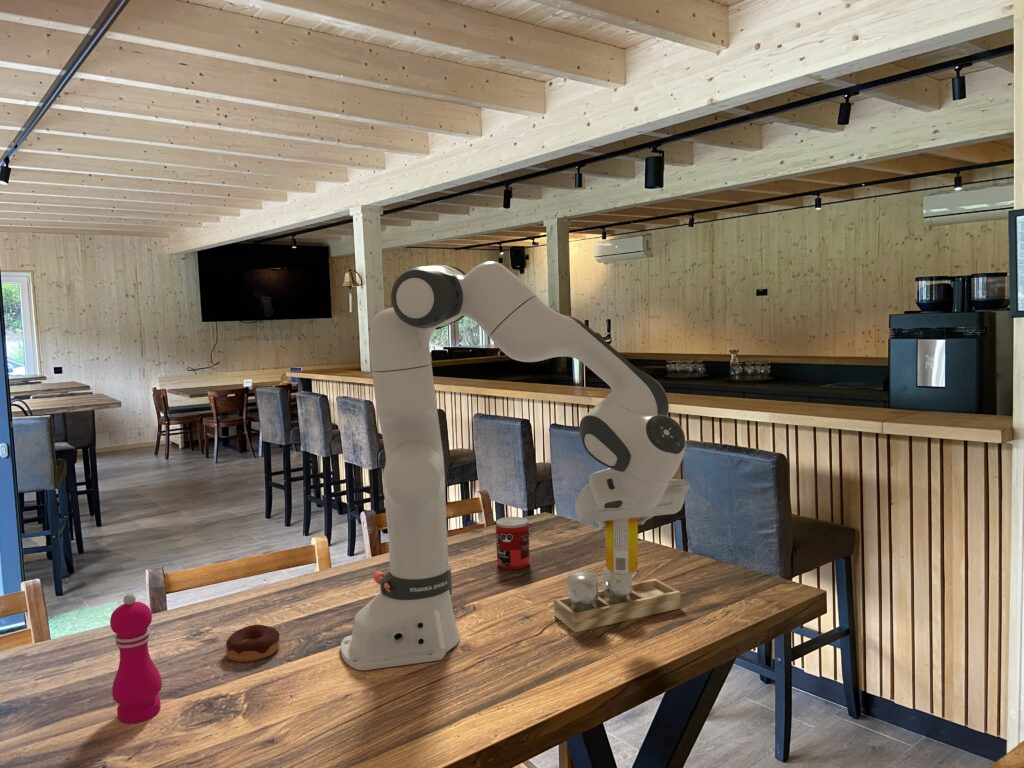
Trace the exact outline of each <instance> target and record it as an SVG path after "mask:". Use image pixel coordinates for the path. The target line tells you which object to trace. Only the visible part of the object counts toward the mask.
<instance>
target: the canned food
mask: <svg viewBox="0 0 1024 768" xmlns="http://www.w3.org/2000/svg"><path fill="white" fill-rule="evenodd" d="M529 524H530V523H529V520H528V518H525V517H520V516H507V517H500V518H499V519H497V520H496V522H495V537H496V538H495V539H496V543H495V544H496V562H497V565H498V567H500V569H501V568H502V569H505V570H519V569H523V568H527V566H529V564H530V532H529V531H530V527H529Z"/></svg>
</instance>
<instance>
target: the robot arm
mask: <svg viewBox="0 0 1024 768" xmlns="http://www.w3.org/2000/svg"><path fill="white" fill-rule="evenodd" d="M390 301H391V306H392V307H388V308H386V309H383V310H381V311H380V312H378V313H377V314H375V316H374V317H373V319H372V320H371V324H370V332H369V333H370V335H369V354H370V355H369V356H370V357H369V358H370V368H371V369H370V370H371V374H372V382H373V391H374V398H375V399H374V400H375V406H376V414H377V417H378V421H379V425H380V431H381V437H382V443H383V449H384V453H385V454H384V455H385V465H384V468H383V473H382V483H383V493H384V494H383V496H384V507H385V516H386V524H387V534H388V536H387V537H388V538H387V539H388V551H389V552H388V553H389V570H388V572H386V574H384V573H383V572H382V571H380V570H378V571H375V572H374V574H373V577H372V579H373V581H375V583H376V584H379V587H380V592H379V593H377V594H376V596H374V597H373V599H371V600H370V601H369V602H368V603H366V604H365V605H364V607H362V608H361V609H360V610H359V611H358V612H357V613H356V614H355V617H354V618H353V621H352V623H353V624H352V630H351V634H349V635H347V636H345V637H344V638H343V639H342V641H341V642H340V655H341V658H342V659H343V660H344V662H345V663H346V664H347V666H349V667H351V668H352V669H355V670H358V671H369V670H371V671H372V670H377V669H384V668H391V667H392V668H393V667H399V666H406V665H407V666H408V665H414V664H421V663H422V664H423V663H429V662H434V661H440V660H442V659H444V658H445V656H446V654H447V653H448V652H449V651H450V650H451V649H453V648H454V647H456V646H457V645H458V643H459V642H460V639H461V636H460V633H459V630H458V627H457V623H456V619H455V614H454V610H453V604H452V594H453V592H452V591H453V575H452V569H451V566H450V565H449V547H448V545H449V544H448V525H447V524H448V523H447V505H446V503H447V502H446V479H445V477H446V475H445V472H446V471H445V461H444V460H445V459H444V450H443V443H442V442H443V441H442V437H441V436H442V435H441V427H440V421H439V414H438V406H437V405H438V404H437V398H436V391H435V389H436V388H435V382H434V380H435V379H434V373H433V366H432V358H431V352H430V351H431V350H430V349H431V348H430V340H431V335H432V334H433V332H434V330H436V331H437V330H440V329H443V328H446V327H447V326H449V325H453V324H455V323H457V322H458V321H460V320H462V319H464V317H467V318H469V319H471V320H473V321H474V323H476V324H477V325H479V327H480V328H481V329H482V330H483V331H484V333H485V334H487V336H488V337H489V338H490V340H491V341H492V342H493V343H494V345H496V346H497V348H499V350H500V351H501V352H502V353H504V354H505V355H506V356H508V357H509V358H510V359H512V360H515V361H519V362H522V363H534V362H535V363H536V362H540V361H541V362H542V361H544V360H545V361H546V360H549V359H552V358H559V357H568V358H573V359H575V360H578V361H579V362H581V363H583V364H584V365H585V367H587V368H588V369H589V370H591V371H592V372H593V373H594V374H595V375H596V376H597V377H599V378H600V379H601V380H602V381H603V382H604V383H606V384H607V385H608V386H609V387H610V389H611V392H610V393H609V394H607V396H605V397H604V399H602V400H601V401H600V402H599V403H597V404H596V405H595V406H594V407H593V408H592V409H591V410H590V411H589V412H587V413H586V414H585V415H584V416H583V417H582V418H581V420H580V422H579V426H578V427H579V437H580V441H581V443H582V446H583V448H584V449H585V451H586V453H587V454H588V455H589V456H590V457H591V458H593V459H594V460H596V462H597V463H599V464H601V465H603V466H605V467H607V468H606V469H602V470H599V471H595V472H593V473H591V474H590V475H589V477H588V480H589V483H588V484H586V485H585V486H584V487H583V488H581V489H582V490H581V491H580V493H579V495H578V496H577V498H576V501H575V503H574V504H575V505H574V509H575V513H576V517H577V520H578V521H579V522H580V523H581V524H586V523H587V524H589V523H597V525H598V528H599V530H602V529H606V528H608V526H609V522H608V521H609V520H618V519H628V518H638V526H639V525H644V524H645V523H646V521H648V520H650V519H652V518H653V517H655V516H656V517H657V516H665V515H675V514H677V513H678V512H680V511H681V510H682V508H683V506H684V503H685V501H686V493H688V492H689V490H690V488H691V482H689V481H688V480H685V479H683V478H682V479H681V478H680V479H677V478H674V476H675V475H676V473H677V472H678V469H679V467H680V465H681V463H682V461H683V457H684V454H685V451H686V447H687V445H686V444H687V443H686V442H687V441H686V434H685V431H684V430H683V428H682V426H681V425H680V424H679V423H678V422H677V421H676V420H675V419H674V418H673V417H670V416H668V413H669V399H668V395H667V392H666V391H665V388H664V387H663V386H662V384H661V383H660V382H659V381H658V380H656V379H655V378H654V377H652V376H650V374H647V373H645V372H644V371H642V370H641V369H639V368H638V367H636V366H635V365H634V364H633V363H631V362H630V360H628V359H626V357H624V356H623V355H622V354H621V353H620V352H618V350H617V349H615V348H614V347H613V346H612V345H610V344H609V343H608V342H607V341H606V340H605V339H604V338H602V337H601V336H600V335H599V334H597V332H596V331H594V330H593V329H592V328H590V327H589V326H588V325H586V324H585V323H584V322H583V321H581V320H580V319H578V318H576V317H575V316H572V315H564V314H562V313H560V312H557V311H556V310H554V309H553V308H551V307H550V306H549V305H547V304H546V303H544V302H543V300H541V299H540V298H539V297H538V295H536V294H535V292H534V291H533V290H531V288H530V287H529V286H528V285H527V284H526V283H525V282H524V281H522V279H520V278H519V277H518V276H517V275H516V274H515V273H513V272H512V271H511V270H510V269H508V268H507V267H506V266H505V265H503V264H502V263H499V262H498V261H492V260H490V261H484V262H482V263H479V264H478V265H476V266H475V267H473V268H471V269H470V271H469V272H467V273H466V272H464V271H463V270H462V269H460V268H458V267H456V266H453V265H452V266H451V265H444V264H443V265H442V264H428V265H425V266H423V265H422V266H421V265H420V266H417V267H416V266H415V267H412V268H409V269H407V270H406V271H404V272H403V273H401V275H399V277H398V278H397V279H396V280H395V282H394V284H393V286H392V289H391V294H390Z"/></svg>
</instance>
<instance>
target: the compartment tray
mask: <svg viewBox="0 0 1024 768" xmlns="http://www.w3.org/2000/svg"><path fill="white" fill-rule="evenodd" d="M598 600H599V608H596V609H592V610H587V611H583V612H578V613H576V612H575V611H573V610H572V609H571V608H569V597H568V596H566V597H565V596H564V597H560V598H555V599H554V600H553V601H554V602H553V605H554V607H553V608H554V611H553V612H554V614H553V615H554V617H555V616H556V617H557V619H558V618H559V619H558V620H559V621H560V620H561V621H562V622H561V621H560V622H561V623H562V624H564V623H565V624H564V625H565V626H566V625H567V627H568V628H569V629H570V630H571V631H573V632H574V633H579V632H582V631H587V630H591V629H595V628H596V629H597V628H601V627H604V626H608V625H613V624H617V623H622V622H623V623H624V622H626V621H630V620H636V619H640V618H643V617H644V618H645V617H648V616H652V615H653V616H654V615H656V614H657V615H658V614H661V613H666V612H671V611H674V610H678V609H681V606H682V605H681V604H682V603H681V591H680V590H678V589H676V588H674V587H672V586H671V585H668V584H666V583H665V582H663V581H661V580H659V579H657V578H653V579H651V578H650V579H647V580H643V581H637V582H632V601H628V602H624V603H619V604H615V605H611V604H609V603H608V602H606V601H605V600H603V589H600V590H599V589H598ZM556 617H555V618H556Z"/></svg>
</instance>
